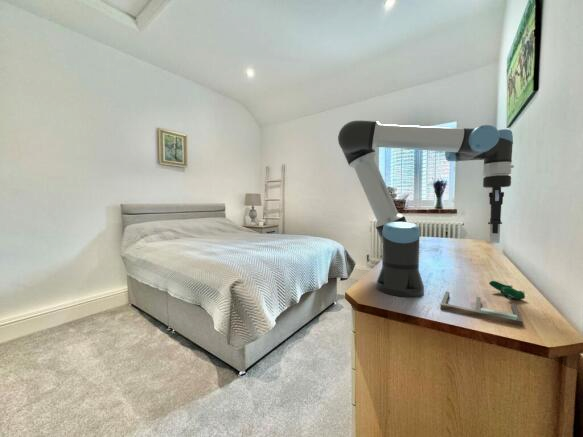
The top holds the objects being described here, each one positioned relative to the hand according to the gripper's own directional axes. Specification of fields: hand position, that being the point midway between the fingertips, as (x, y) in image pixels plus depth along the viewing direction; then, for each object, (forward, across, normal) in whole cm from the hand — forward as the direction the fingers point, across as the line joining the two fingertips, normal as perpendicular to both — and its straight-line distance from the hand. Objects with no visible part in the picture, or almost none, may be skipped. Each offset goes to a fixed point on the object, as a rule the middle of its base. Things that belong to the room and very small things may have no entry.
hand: (494, 242), depth 87 cm
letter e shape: (+16, -26, +4) cm, 31 cm away
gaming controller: (+14, -10, 0) cm, 17 cm away
